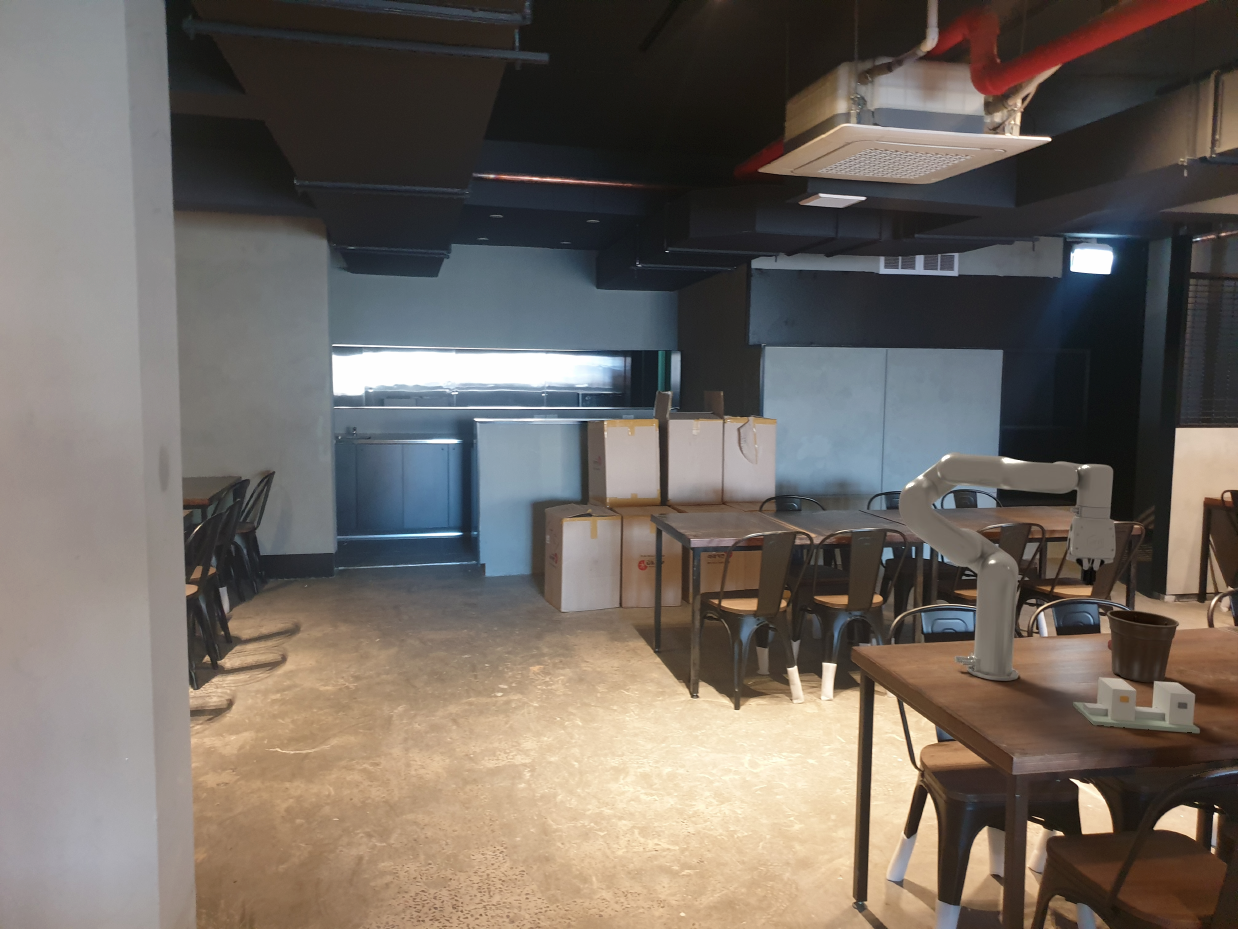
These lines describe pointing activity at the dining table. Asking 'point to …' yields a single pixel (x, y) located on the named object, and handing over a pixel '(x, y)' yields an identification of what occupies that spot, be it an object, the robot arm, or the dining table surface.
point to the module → (1117, 698)
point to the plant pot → (1140, 644)
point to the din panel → (1136, 722)
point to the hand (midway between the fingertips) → (1087, 584)
